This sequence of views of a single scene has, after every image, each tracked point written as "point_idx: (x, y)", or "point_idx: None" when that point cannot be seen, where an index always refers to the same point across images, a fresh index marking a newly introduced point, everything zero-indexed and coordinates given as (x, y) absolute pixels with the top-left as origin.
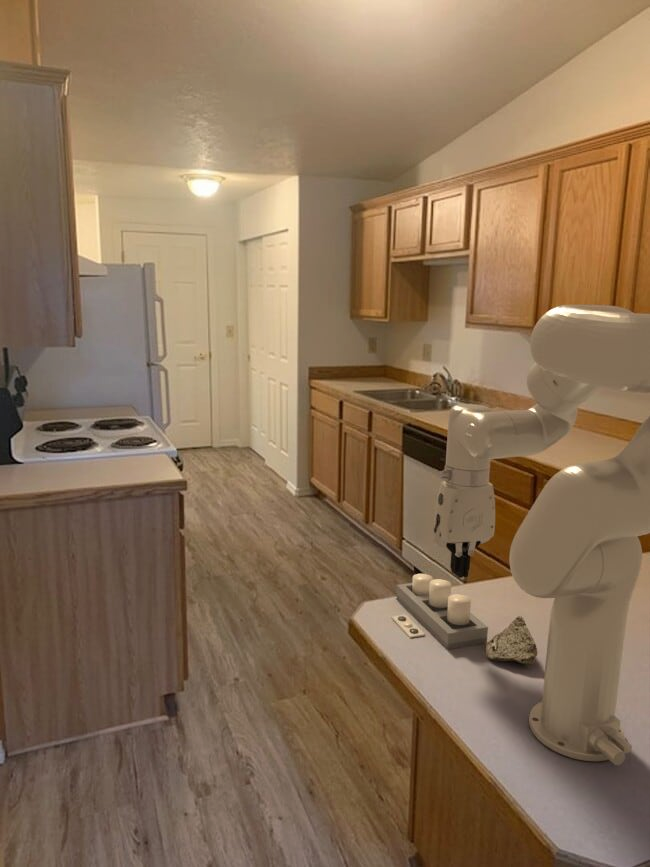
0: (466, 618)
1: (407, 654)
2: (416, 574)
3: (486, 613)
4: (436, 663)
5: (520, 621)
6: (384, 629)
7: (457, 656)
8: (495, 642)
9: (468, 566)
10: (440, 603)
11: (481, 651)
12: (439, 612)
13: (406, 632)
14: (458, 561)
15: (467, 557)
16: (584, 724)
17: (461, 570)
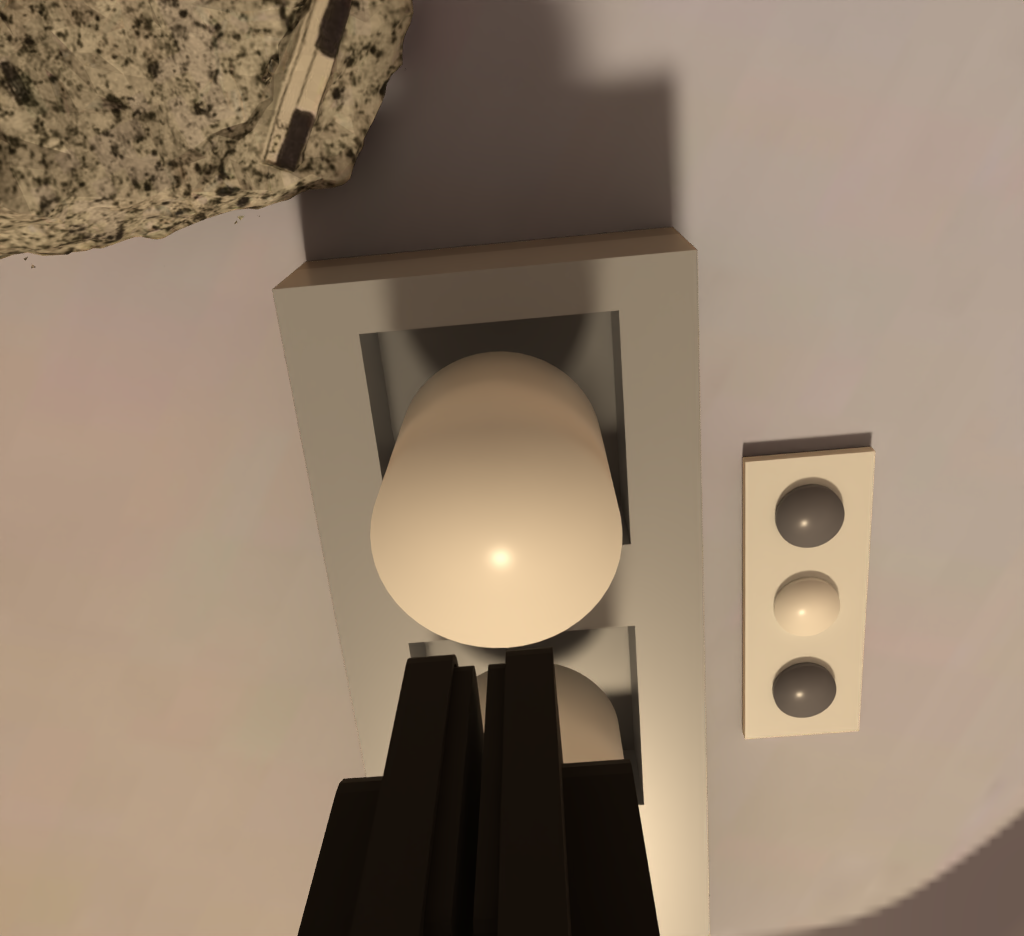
0: (464, 372)
1: (1020, 221)
2: None
3: (135, 664)
4: (869, 30)
5: None
6: (985, 595)
7: (642, 103)
8: (283, 94)
9: (389, 772)
10: (561, 689)
11: (407, 139)
12: (591, 611)
13: (871, 510)
14: (578, 902)
15: (407, 930)
16: None
17: (540, 720)
